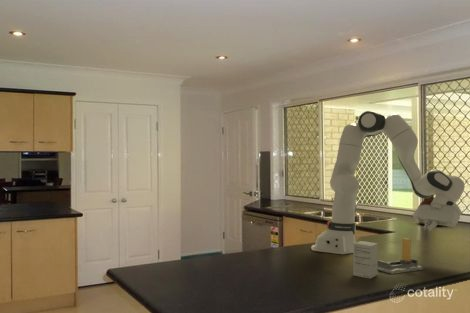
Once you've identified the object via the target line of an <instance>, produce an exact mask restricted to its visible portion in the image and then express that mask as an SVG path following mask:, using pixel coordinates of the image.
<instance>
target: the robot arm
mask: <svg viewBox="0 0 470 313" xmlns="http://www.w3.org/2000/svg"><path fill="white" fill-rule="evenodd" d="M381 133H383V134H384V135H386V137H387V139H389V141H390V142H391V144H392V146H393V147H394V149H395V151H396V154H397V158H398V160H399V162H400V164H401V166H402V168H403V170H404V172H405V174H406V175H407V177H408V179H409V181H410V184H411V188H412V191H413V193H414V194H415V195H416V196H417V197H418V198H421V199H423V200H424V199H426V198H430V197H431V196H432V195H433V196H434V195H435V196H434V199H433V201H432V202H431V204H430V205H427V204H424V205H422V206H420V207H418V206H417V208H416V209H415V210H414V212H413V214H412V217H413V219H414V221H416V222H418V221H419V222H425V225H424V224H423V225H424V226H423V230H425V231H430V232H431V231H432V230H433V229H434V228H436V227H437V226H438V225H439V226H445V227H451V228H452V227H456V225H457V224H458V222H459V221H460V218H461V215H463V212H462V210H461V209H460V207H459V205H458V204H457V202H459V200H460V198H461V197H462V194H463V193H464V191H465V182H464V181H463V179H462V178H461V177H459V176H457V175H449V174H446V173H444V172H443V171H441V170H439V169H431V170H429V171H427V172H426V173H424V174H422V172H421V170H420V168H419V166H418V164H417V162H416V161H415V153H416V149H417V147H418V143H419V141H418V140H419V139H418V138H417V137H418V136H417V134H416V133H415V131H414V130H413V128H412V127H411V126H410V124H408V122H407V121H406V120H405V119H404V118H403V117H402V116H401V115H400V114H397V113H391V114H389V115H387V116H385V115H383V114H381V113H378V112H377V111H374V110H366V111H364V112H362V113H361V114H360V115H359V117H358V121H357V123H349V124H346V125H345V126H344V127H343V130H342V131H341V135H340V139H339V144H338V150H337V154H336V161H335V164H334V167H333V170H332V174H331V178H330V180H329V185H330V189H331V190H332V191H333V192H334V195H333V201H332V206H331V208H332V209H331V220H330V221H327V222H326V224H327V229H325V230H324V231H323V232H321V233H320V234H319V235H318V236H317V237H316V240H315V244H312V245H311V247H310V248H311V251H314V252H321V253H327V254H328V253H331V254H338V255H347V254H353V253H354V243H356V238H355V237H356V236H355V235H356V231H357V230H356V223H355V216H356V215H355V213H356V212H355V210H356V202H357V198H358V191H359V188H360V182H359V179H358V178H357V177H356V176H355V174H356V172H357V168H358V166H359V165H360V161H361V159H360V158H361V154H362V149H363V148H362V147H363V144H364V139H365V138H368V137H369V138H370V137H375V136H378V135H380V134H381ZM419 222H418V223H419ZM430 223H432V224H430ZM428 224H429V225H428Z"/></svg>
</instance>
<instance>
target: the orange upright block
mask: <svg viewBox="0 0 470 313" xmlns="http://www.w3.org/2000/svg"><path fill="white" fill-rule="evenodd" d="M411 240H412V239H410V238H406V237H402V241H401V242H402V244H401V246H402V247H401V259H399V261H400V264H407V263H412V260H410V258H411V256H412V255H411V253H412V252H411V251H412V250H411V248H412V246H411V245H412V241H411Z"/></svg>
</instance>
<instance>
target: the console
mask: <svg viewBox="0 0 470 313" xmlns="http://www.w3.org/2000/svg"><path fill="white" fill-rule="evenodd" d="M410 260H412V263H407V264H400V260H395V261H384V260H380V259H378V271H381V272H385V273H388V274H391V275H394V274H401V273H408V272H409V273H410V272H416V271H422V270H423V269H424V268H423V266H422V265H419V264H418V261H419V260H418V259H415V258H411V257H410Z"/></svg>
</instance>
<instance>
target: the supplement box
mask: <svg viewBox="0 0 470 313" xmlns="http://www.w3.org/2000/svg"><path fill="white" fill-rule="evenodd" d="M352 254H353V259H352V260H353V264H352V271H353V272H352V275H353V276H356V277H361V278H366V279H372V278H374V277H376V276H378V273H379V272H378V271H379V270H378V260H379V243H377V242H371V241H370V242H369V241H363V240H359V241H356V242H355V243H354V253H352Z"/></svg>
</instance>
